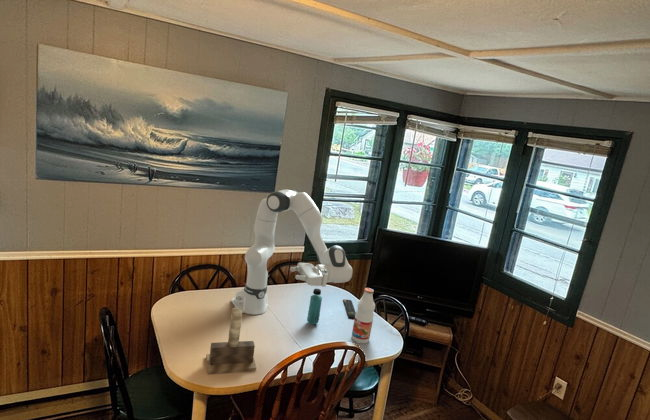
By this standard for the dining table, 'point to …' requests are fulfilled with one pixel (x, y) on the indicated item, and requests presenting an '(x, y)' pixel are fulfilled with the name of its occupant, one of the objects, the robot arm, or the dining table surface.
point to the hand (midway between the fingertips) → (293, 273)
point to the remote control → (349, 309)
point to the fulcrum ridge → (231, 358)
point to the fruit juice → (364, 317)
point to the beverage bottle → (314, 307)
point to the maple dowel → (235, 327)
